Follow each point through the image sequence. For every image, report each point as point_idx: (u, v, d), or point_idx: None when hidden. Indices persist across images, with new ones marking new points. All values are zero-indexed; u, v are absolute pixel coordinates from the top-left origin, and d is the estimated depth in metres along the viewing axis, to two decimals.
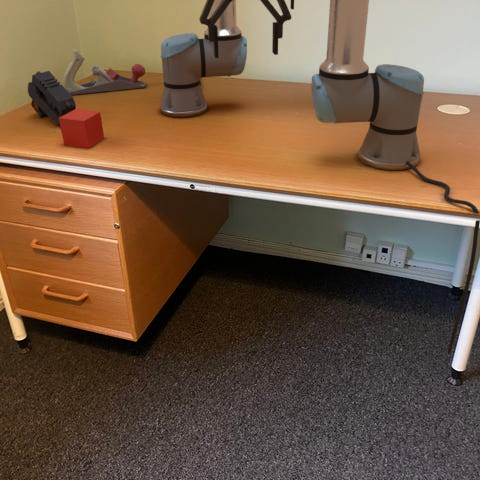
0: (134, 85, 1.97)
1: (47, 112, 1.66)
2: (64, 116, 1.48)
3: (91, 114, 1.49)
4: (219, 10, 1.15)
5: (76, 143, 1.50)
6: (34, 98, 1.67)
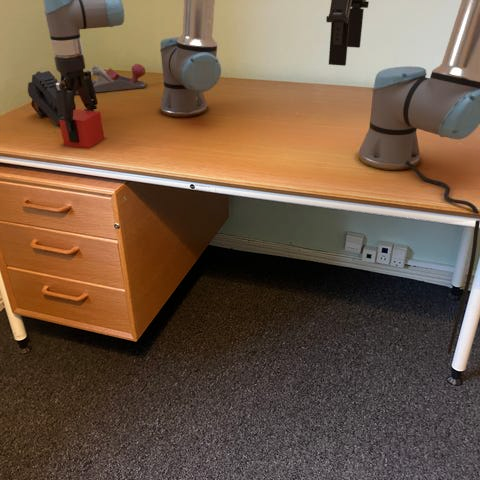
0: (134, 85, 1.97)
1: (47, 112, 1.66)
2: None
3: (91, 114, 1.49)
4: None
5: (76, 143, 1.50)
6: (34, 98, 1.67)
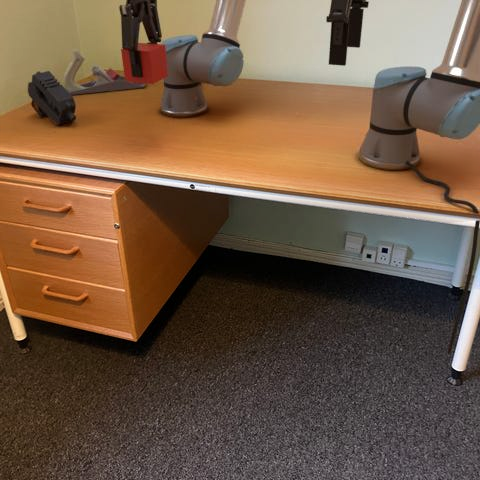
0: (134, 85, 1.97)
1: (47, 112, 1.66)
2: None
3: (156, 46, 1.35)
4: None
5: (139, 78, 1.35)
6: (34, 98, 1.67)
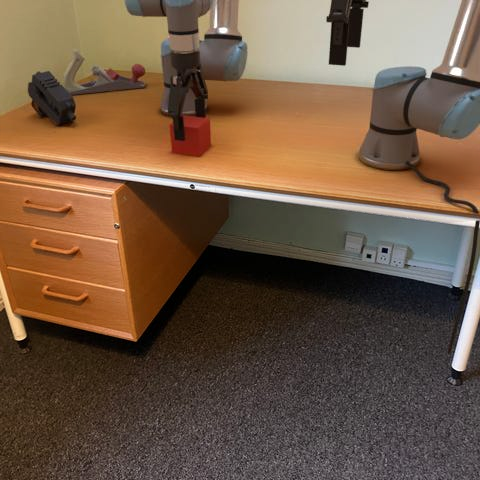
0: (134, 85, 1.97)
1: (47, 112, 1.66)
2: None
3: (202, 120, 1.43)
4: None
5: (186, 150, 1.43)
6: (34, 98, 1.67)
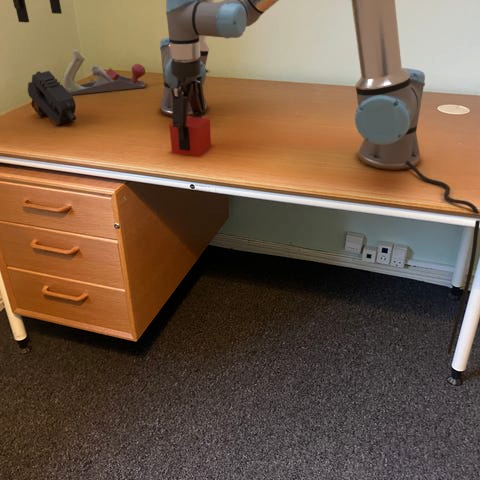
0: (134, 85, 1.97)
1: (47, 112, 1.66)
2: None
3: (202, 120, 1.43)
4: None
5: (186, 151, 1.43)
6: (34, 98, 1.67)
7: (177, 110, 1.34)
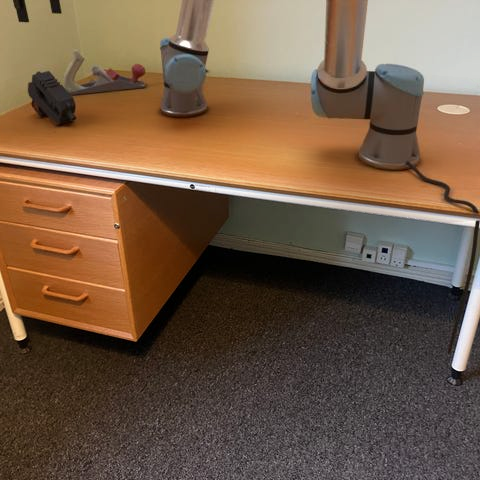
0: (134, 85, 1.97)
1: (47, 112, 1.66)
2: None
3: None
4: None
5: None
6: (34, 98, 1.67)
7: None
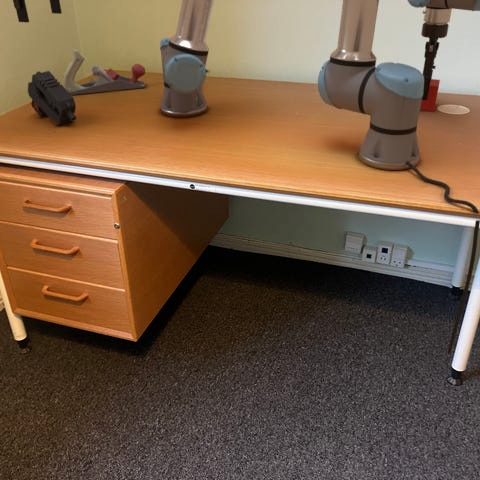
0: (134, 85, 1.97)
1: (47, 112, 1.66)
2: None
3: (435, 81, 1.71)
4: None
5: (421, 106, 1.71)
6: (34, 98, 1.67)
7: (428, 63, 1.60)
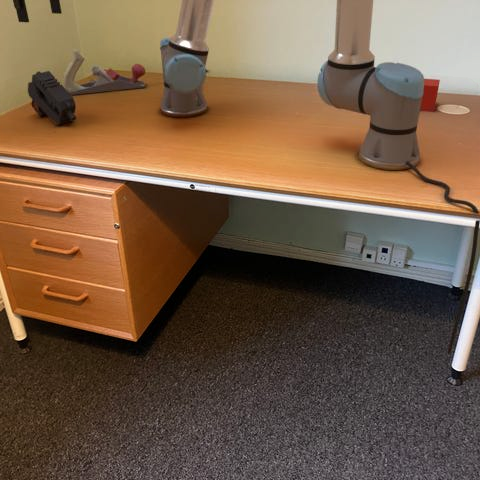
0: (134, 85, 1.97)
1: (47, 112, 1.66)
2: None
3: (435, 81, 1.71)
4: None
5: (421, 106, 1.71)
6: (34, 98, 1.67)
7: None
